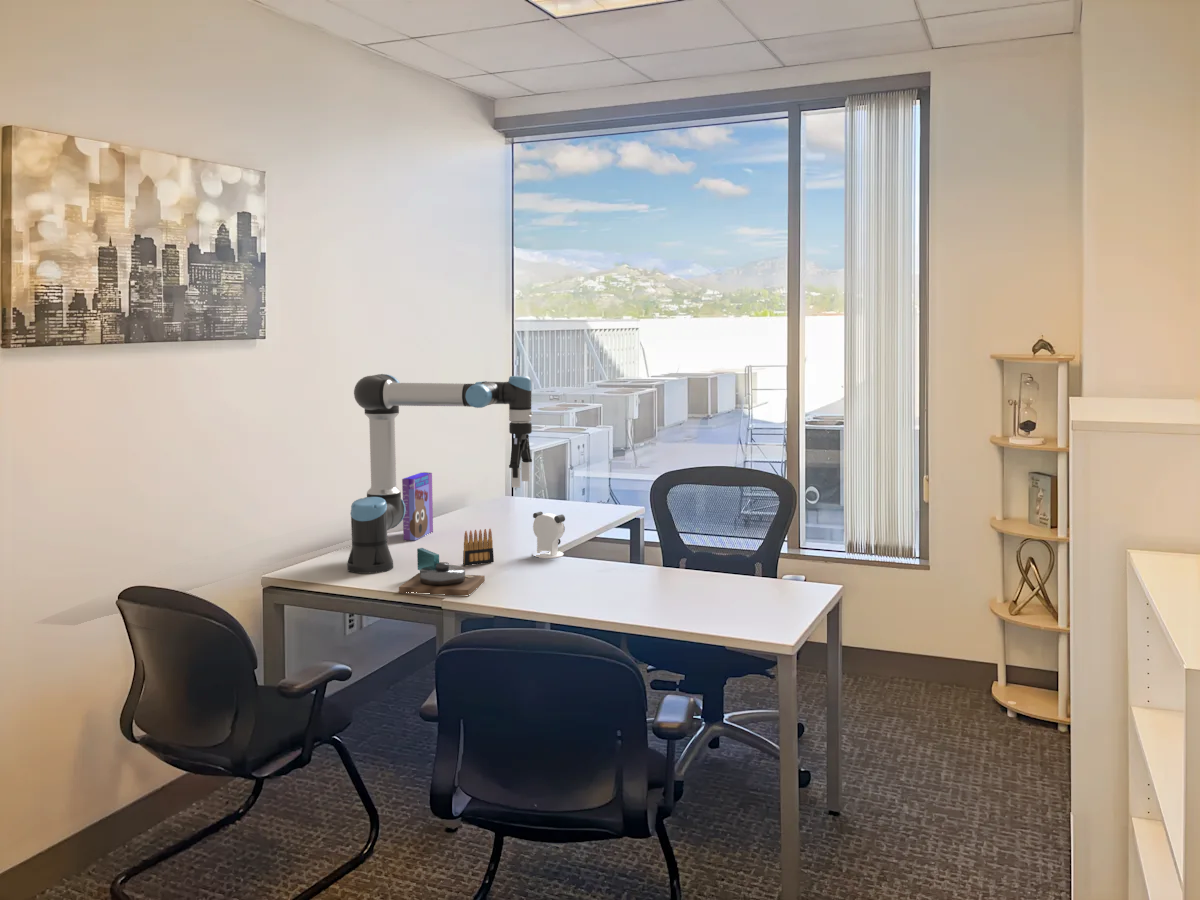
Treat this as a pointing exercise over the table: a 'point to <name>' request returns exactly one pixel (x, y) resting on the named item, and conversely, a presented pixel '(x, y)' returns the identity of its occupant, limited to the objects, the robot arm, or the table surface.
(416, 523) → the cereal box
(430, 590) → the stand
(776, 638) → the table surface
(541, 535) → the panda figurine
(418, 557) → the dial
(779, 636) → the table surface
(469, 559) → the ammunition clip
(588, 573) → the table surface
